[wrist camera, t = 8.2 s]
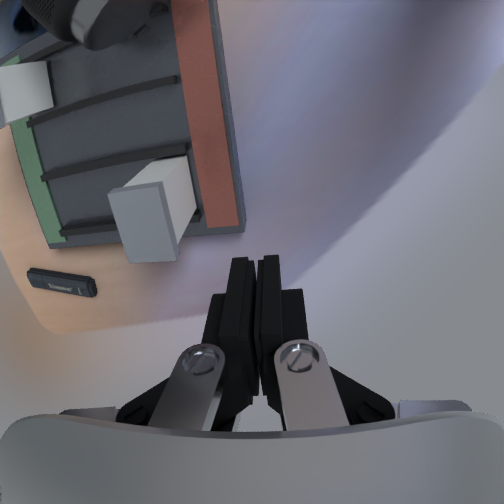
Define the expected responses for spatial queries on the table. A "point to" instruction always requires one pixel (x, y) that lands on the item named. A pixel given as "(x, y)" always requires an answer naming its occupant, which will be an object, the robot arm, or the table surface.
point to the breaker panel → (131, 124)
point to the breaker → (23, 91)
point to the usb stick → (62, 282)
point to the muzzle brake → (92, 19)
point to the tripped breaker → (154, 210)
